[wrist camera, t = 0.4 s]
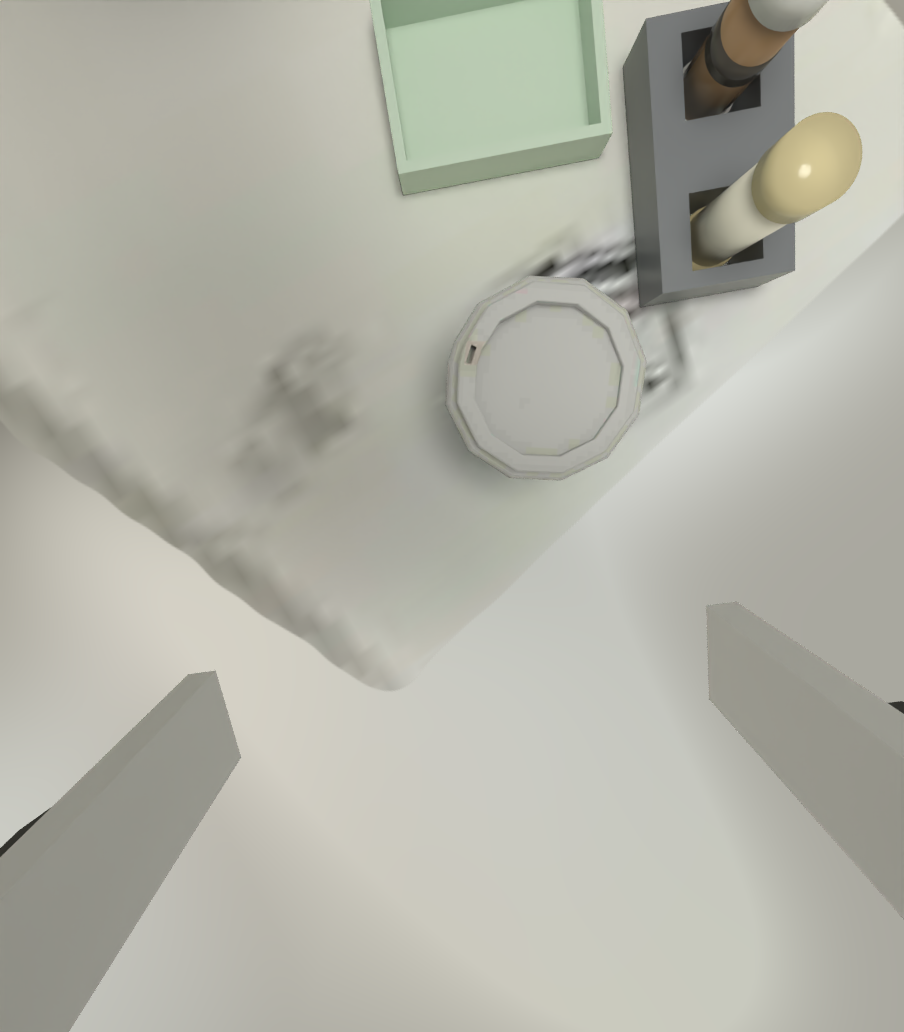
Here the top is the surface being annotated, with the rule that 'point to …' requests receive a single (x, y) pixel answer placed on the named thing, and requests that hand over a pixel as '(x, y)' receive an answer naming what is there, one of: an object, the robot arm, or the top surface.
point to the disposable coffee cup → (545, 378)
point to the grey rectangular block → (697, 159)
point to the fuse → (779, 188)
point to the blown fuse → (740, 51)
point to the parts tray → (491, 86)
